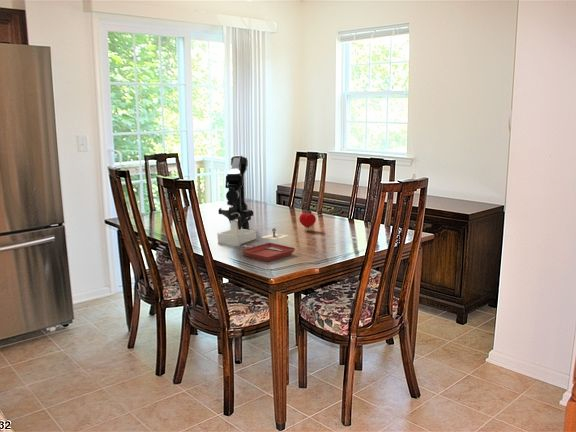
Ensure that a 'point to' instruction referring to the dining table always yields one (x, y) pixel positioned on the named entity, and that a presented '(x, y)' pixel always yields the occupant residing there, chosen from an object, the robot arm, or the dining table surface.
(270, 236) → the stud base
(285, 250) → the plant saucer
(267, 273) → the dining table surface
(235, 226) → the strut
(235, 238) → the grey bin
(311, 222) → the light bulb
